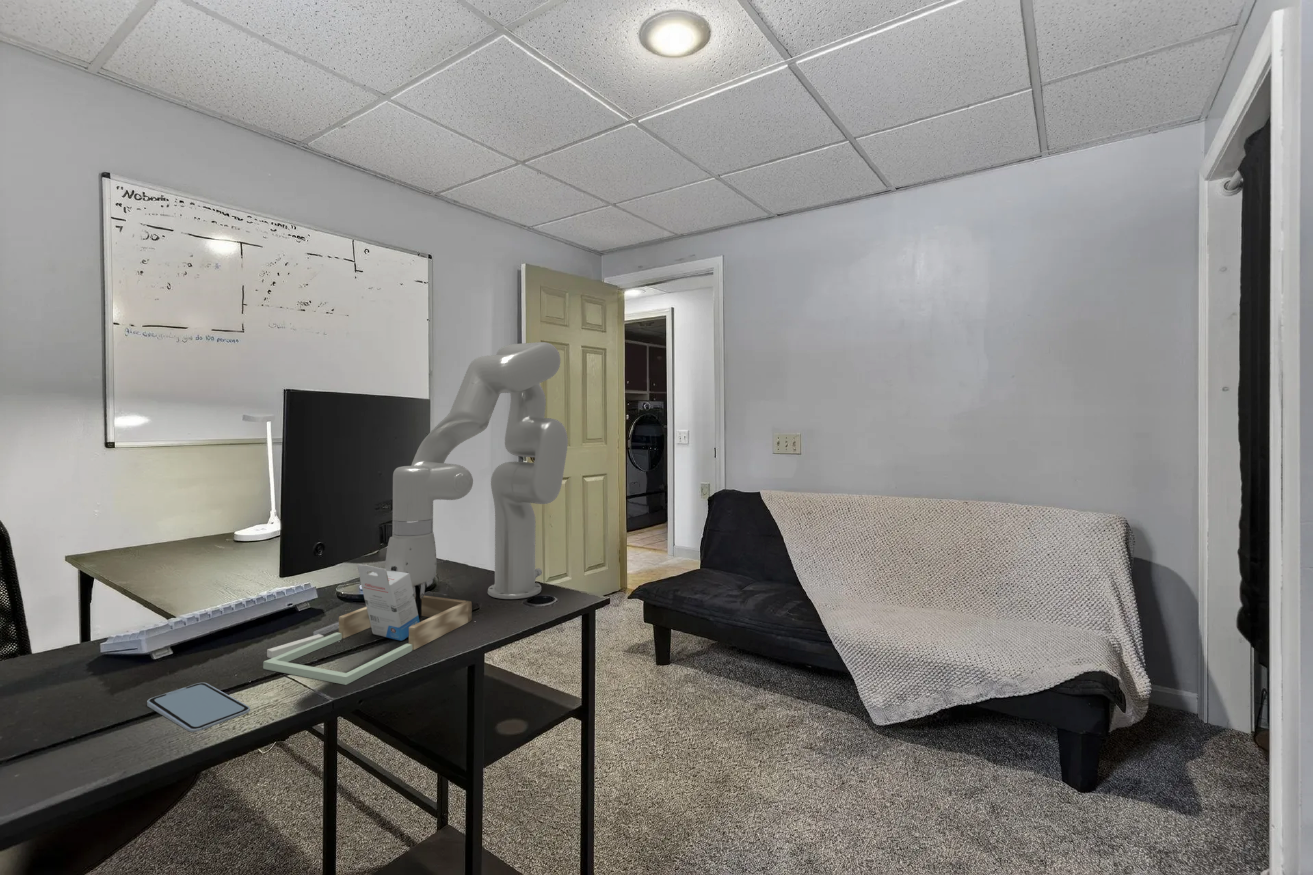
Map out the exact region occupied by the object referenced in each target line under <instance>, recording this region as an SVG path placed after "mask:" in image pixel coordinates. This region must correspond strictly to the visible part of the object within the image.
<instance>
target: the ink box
mask: <svg viewBox="0 0 1313 875" xmlns="http://www.w3.org/2000/svg"><path fill="white" fill-rule="evenodd" d="M356 566H357V571H358V576H359V581H360V585H361V590H362V594H363V598H364V602H365V607H367V611H368V615H369V620H370V624H371V627H370V628H371V631H372V634H373V635H376V636H381V637H384V638H387V639H392V640H396V641H401V642H402V641H404V640H405V639H407V638H409V627H410V626H413V625H415V624H417V623H419V622H421V621H420V619H419V616H418V611H417V607H416V602H415V597H414V593H413V588H412V583H411V579H410V574H409V573H404V572H397V571H393V570H392V571H386V569H385V567H384V568H382V567H377V566H372V565H367V564H360V563H357V565H356Z"/></svg>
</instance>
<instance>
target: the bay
mask: <svg viewBox="0 0 1313 875" xmlns="http://www.w3.org/2000/svg"><path fill="white" fill-rule="evenodd" d="M342 639H343V638H342V633H339V631H338V632H336V631H335V632H334V633H332V634H331V633H330V634H329V635H326V636H324V638H321V639H319V640H316V641H314V642H311V643H309V644H306V645H304V646H301V647H299V648H296V649H294V650H291V651H289V652H286V653H284V654H281V655H279V656H276V657H274V658H269V659H267V660H264V661H262V662H263V663H262V666H263V668H262V669H263V670H267V671H273V672H277V673H284V674H289V675H293V676H298V677H304V678H310V679H314V680H318V681H324V682H330V683H334V684H335V683H336V684H340V685H345V686H347V685H349V684H350V683H352V682H355V681H356V680H358V679H360V678H363V677H364V676H366V675H368V674H371V673H372V672H374V671H376V670H377V669H378V670H379V669H380V668H381V667H383V666H386V665H388V664H389V663H391V662H394V661H395V660H397V659H400V658H401V657H403V656H405V655H407V654H409V653H412V652H413V650H412V644H409V643H405V644H402V645H401V646H399V647H397V648H394V649H392V650H391V651H388V652H387V653H384V654H382V655H381V656H379V657H376V658H374V659H372V660H369V661H368V662H366V663H364V664H362V665H360V666H358V667H356V668H354V669H352V670H350V671H348V672H342V671H338V670H331V669H325V668H321V667H315V666H312V665H311V666H310V665H305V664H298V663H293V662H291V661H293V660H296V659H298V658H301V657H302V656H305V655H308V654H310V653H312V652H315V651H317V650H320V649H322V648H325V647H327V646H329V645H331V644H335V643H337V642H339V641H341V640H342Z"/></svg>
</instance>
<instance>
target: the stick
mask: <svg viewBox="0 0 1313 875" xmlns="http://www.w3.org/2000/svg"><path fill="white" fill-rule="evenodd" d="M324 637H325V635H320V634H318V635H314V636H313V635H311V636H308V637H304V638H302V639H298V640H294V641H291V642H288V643H284V644H281V645H278V646H274V647H272V648H267V650H266V656H267V658H269V659H271V658H274V657H276V656H279V655H281V654H284V653H286V652H289V651H291V650H294V649H296V648H299V647H301V646H304V645H306V644H309V643H311V642H314V641H316V640H319V639H321V638H324Z"/></svg>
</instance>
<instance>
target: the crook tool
mask: <svg viewBox="0 0 1313 875" xmlns="http://www.w3.org/2000/svg"><path fill="white" fill-rule="evenodd" d="M336 630H337V631H338V630H339V621H337V622H334V623H332V624H328V625H327V626H324V627H321V628H319V629H317V630H314V631H313V635H312V636H314V635H318V634H320V635H323V636H325V635H326V634H328V633H329V634H330V633H332V632H333V631H336Z"/></svg>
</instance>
